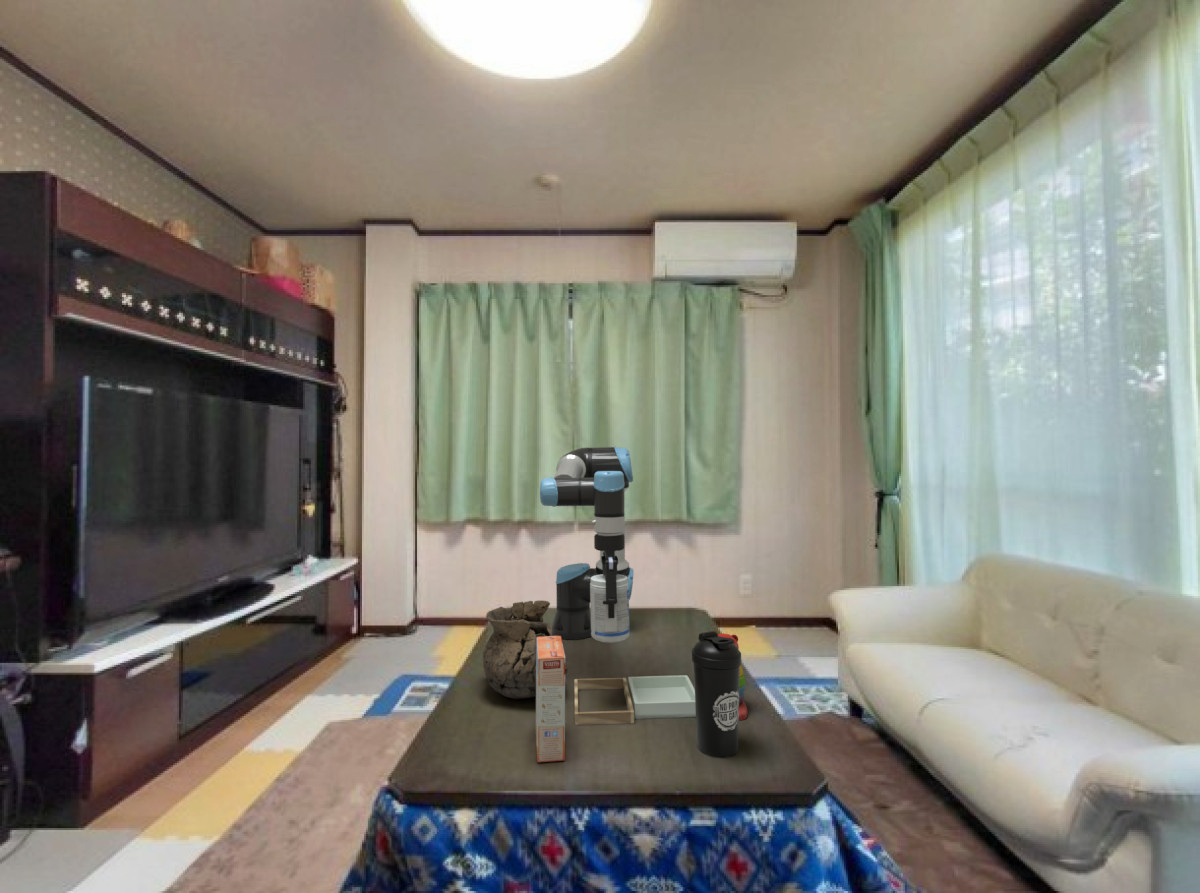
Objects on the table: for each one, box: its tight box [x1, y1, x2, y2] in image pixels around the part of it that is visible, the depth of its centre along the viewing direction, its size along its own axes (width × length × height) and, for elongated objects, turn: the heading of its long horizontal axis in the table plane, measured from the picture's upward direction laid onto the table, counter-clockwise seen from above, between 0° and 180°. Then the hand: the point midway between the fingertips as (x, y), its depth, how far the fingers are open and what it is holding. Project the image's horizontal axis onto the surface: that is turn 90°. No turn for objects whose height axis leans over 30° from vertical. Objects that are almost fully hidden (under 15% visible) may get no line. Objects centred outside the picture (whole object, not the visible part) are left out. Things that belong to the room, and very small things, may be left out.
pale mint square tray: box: [627, 674, 696, 720], centre depth 135 cm, size 16×16×4 cm
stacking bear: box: [717, 632, 748, 721], centre depth 132 cm, size 11×10×18 cm
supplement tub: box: [590, 574, 630, 643], centre depth 135 cm, size 10×10×15 cm
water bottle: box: [691, 630, 742, 759], centre depth 115 cm, size 10×10×23 cm
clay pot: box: [482, 599, 569, 700], centre depth 142 cm, size 25×24×22 cm
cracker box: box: [535, 635, 566, 763], centre depth 116 cm, size 14×6×21 cm, turn 7°
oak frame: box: [573, 677, 635, 726], centre depth 134 cm, size 20×14×2 cm
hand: (610, 624), depth 135 cm, fingers closed on supplement tub, 10 cm apart
